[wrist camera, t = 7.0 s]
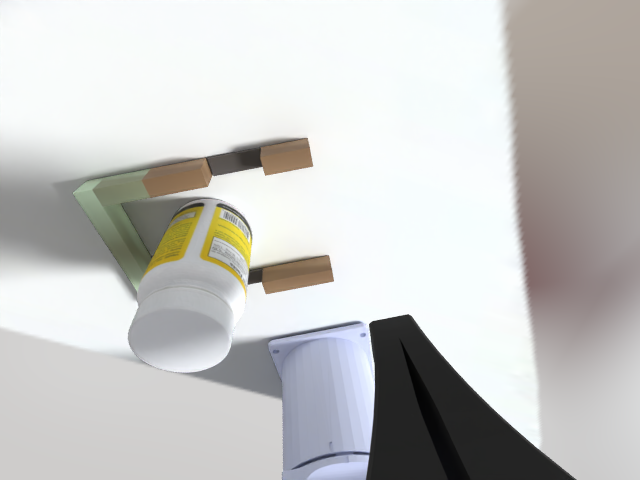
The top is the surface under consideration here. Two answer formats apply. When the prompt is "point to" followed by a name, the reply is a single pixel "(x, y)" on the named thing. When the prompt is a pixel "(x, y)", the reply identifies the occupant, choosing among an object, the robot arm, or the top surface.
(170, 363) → the supplement bottle
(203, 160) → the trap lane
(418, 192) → the top surface
